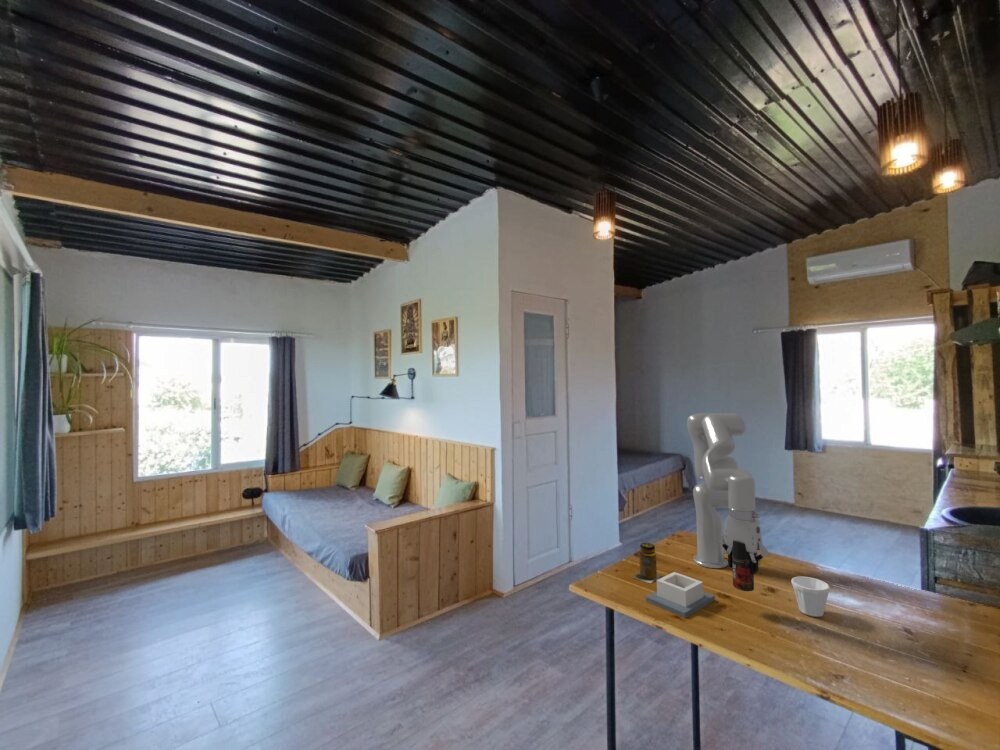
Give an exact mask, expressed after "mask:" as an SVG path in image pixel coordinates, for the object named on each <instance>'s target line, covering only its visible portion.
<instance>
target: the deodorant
mask: <svg viewBox="0 0 1000 750" xmlns="http://www.w3.org/2000/svg"><path fill="white" fill-rule="evenodd" d="M751 561H752V559H751V557H750V554H749V552H747V550H746V546H745V544H744V543H740V542H737V541H734V540H733V547H732V564H733V567H732V586H733V587H734V588H735V589H737V590H739V591H741V592H742V591H743V592H752V591H754V590H755V579H754V577H755V574H754V575H752V574H750V562H751Z"/></svg>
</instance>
